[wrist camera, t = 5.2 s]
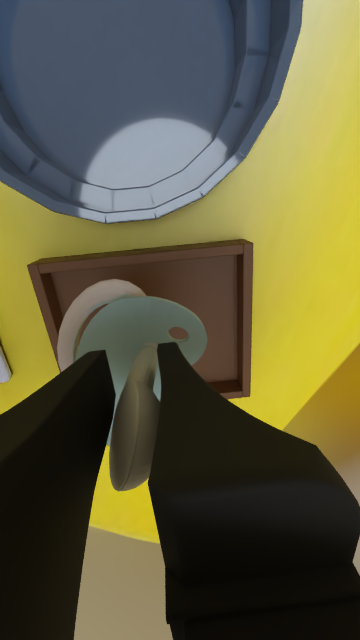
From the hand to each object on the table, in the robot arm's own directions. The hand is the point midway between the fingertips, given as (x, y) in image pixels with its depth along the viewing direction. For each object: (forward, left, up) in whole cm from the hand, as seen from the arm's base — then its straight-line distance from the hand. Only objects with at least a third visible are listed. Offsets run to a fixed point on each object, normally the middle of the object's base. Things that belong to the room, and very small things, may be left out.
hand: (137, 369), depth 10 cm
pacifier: (-1, 0, -3) cm, 3 cm away
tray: (0, -2, -9) cm, 10 cm away
